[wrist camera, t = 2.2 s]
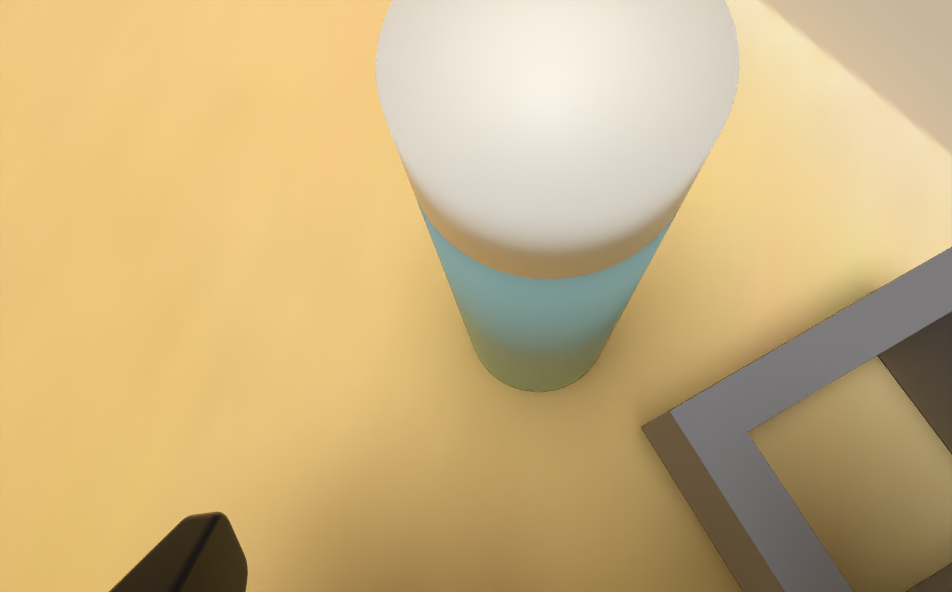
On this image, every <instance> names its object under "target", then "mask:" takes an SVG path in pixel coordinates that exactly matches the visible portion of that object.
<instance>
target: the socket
mask: <svg viewBox="0 0 952 592" xmlns="http://www.w3.org/2000/svg"><path fill="white" fill-rule="evenodd" d="M877 355H878V356H879V357H880V359H881V360H882V361H883V363H884V364H885V365H886V367H887V368H888V369H889V371H890V372H891V373H892V375H893V376H894V377H895V379H896V380H897V381H898V383H899V384H900V385H901V386H902V388H903V389H904V390H905V392H906V393H907V394H908V396H909V397H910V398H911V400H912V401H913V402H914V404H915V405H916V406H917V408H918V409H919V410H920V412H921V413H922V414H923V416H924V417H925V418H926V420H927V421H928V422H929V424H930V425H931V426H932V427H933V429H934V430H935V431H936V433H937V434H938V435H939V437H940V438H941V439H942V441H943V442H944V443H945V445H946V446H947V447H948V449H949V450H950V451H951V453H952V247H951V248H949V249H947V250H945V251H944V252H942V253H940V254H938V255H937V256H935V257H933V258H931V259H930V260H928V261H926V262H924V263H923V264H921V265H919V266H917V267H916V268H914V269H912V270H910V271H909V272H907V273H905V274H903V275H902V276H900V277H898V278H896V279H895V280H893V281H891V282H889V283H888V284H886V285H884V286H882V287H881V288H879V289H877V290H875V291H874V292H872V293H870V294H868V295H867V296H865V297H863V298H862V299H860V300H858V301H856V302H855V303H853V304H851V305H850V306H848V307H846V308H844V309H843V310H841V311H839V312H838V313H836V314H834V315H832V316H831V317H829V318H827V319H826V320H824V321H822V322H820V323H819V324H817V325H815V326H813V327H812V328H810V329H808V330H807V331H805V332H803V333H801V334H800V335H798V336H796V337H795V338H793V339H791V340H789V341H788V342H786V343H784V344H783V345H781V346H779V347H777V348H776V349H774V350H772V351H771V352H769V353H767V354H765V355H764V356H762V357H760V358H759V359H757V360H755V361H753V362H752V363H750V364H748V365H747V366H745V367H743V368H741V369H740V370H738V371H736V372H734V373H733V374H731V375H729V376H728V377H726V378H724V379H722V380H721V381H719V382H717V383H716V384H714V385H712V386H710V387H709V388H707V389H705V390H704V391H702V392H700V393H698V394H697V395H695V396H693V397H692V398H690V399H688V400H686V401H685V402H683V403H681V404H680V405H678V406H676V407H674V408H673V409H671V410H669V411H668V412H666V413H664V414H662V415H661V416H659V417H657V418H655V419H654V420H652V421H650V422H649V423H647V424H645V425H643V426H642V427H641V428H642V430H643V431H644V433H645V434H646V436H647V438H648V439H649V441H650V442H651V444H652V446H653V447H654V449H655V450H656V452H657V454H658V455H659V457H660V458H661V460H662V462H663V463H664V465H665V466H666V468H667V470H668V471H669V473H670V475H671V476H672V478H673V479H674V481H675V483H676V484H677V486H678V487H679V489H680V491H681V492H682V494H683V495H684V497H685V499H686V500H687V502H688V503H689V505H690V507H691V508H692V510H693V511H694V513H695V515H696V516H697V518H698V520H699V521H700V523H701V524H702V526H703V528H704V529H705V531H706V532H707V534H708V536H709V537H710V539H711V540H712V542H713V544H714V545H715V547H716V548H717V550H718V552H719V553H720V555H721V556H722V558H723V560H724V561H725V563H726V565H727V566H728V568H729V569H730V571H731V573H732V574H733V576H734V577H735V579H736V581H737V582H738V584H739V585H740V587H741V589H742V590H743V592H854V591H853V590H852V588H851V587H850V585H849V584H848V582H847V581H846V579H845V578H844V576H843V575H842V573H841V572H840V570H839V569H838V567H837V566H836V564H835V563H834V561H833V560H832V558H831V557H830V555H829V554H828V552H827V551H826V549H825V548H824V546H823V545H822V544H821V542H820V541H819V539H818V538H817V536H816V535H815V533H814V532H813V530H812V529H811V527H810V526H809V524H808V523H807V521H806V520H805V518H804V517H803V515H802V514H801V512H800V511H799V509H798V508H797V506H796V505H795V503H794V502H793V500H792V499H791V497H790V496H789V494H788V493H787V491H786V490H785V488H784V487H783V485H782V484H781V482H780V481H779V479H778V478H777V476H776V475H775V473H774V472H773V470H772V469H771V467H770V466H769V464H768V463H767V461H766V460H765V458H764V457H763V455H762V454H761V452H760V451H759V449H758V448H757V446H756V445H755V443H754V442H753V440H752V439H751V437H750V436H749V434H748V433H747V432H748V431H750V430H751V429H753V428H755V427H756V426H758V425H760V424H762V423H763V422H765V421H767V420H768V419H770V418H772V417H773V416H775V415H777V414H778V413H780V412H782V411H784V410H785V409H787V408H789V407H790V406H792V405H794V404H795V403H797V402H799V401H800V400H802V399H804V398H806V397H807V396H809V395H811V394H812V393H814V392H816V391H817V390H819V389H821V388H822V387H824V386H826V385H828V384H829V383H831V382H833V381H834V380H836V379H838V378H839V377H841V376H843V375H844V374H846V373H848V372H850V371H851V370H853V369H855V368H856V367H858V366H860V365H861V364H863V363H865V362H866V361H868V360H870V359H872V358H873V357H875V356H877ZM907 592H952V564H950V565H949V566H947V567H946V568H944V569H942V570H941V571H939V572H938V573H936V574H934V575H933V576H931V577H929V578H928V579H926V580H925V581H923V582H921V583H920V584H918V585H917V586H915V587H913V588H912V589H910V590H909V591H907Z"/></svg>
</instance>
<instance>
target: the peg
mask: <svg viewBox="0 0 952 592" xmlns="http://www.w3.org/2000/svg"><path fill="white" fill-rule="evenodd" d="M738 76H739V46H738V40H737V35H736V29H735V25H734V23H733V20H732V17H731V14H730V11H729V8H728V6H727V4H726V2H725V0H393V2H392V4H391V6H390V8H389V11H388V13H387V15H386V17H385V20H384V23H383V26H382V30H381V33H380V37H379V41H378V48H377V55H376V82H377V88H378V94H379V100H380V103H381V106H382V109H383V112H384V116H385V119H386V121H387V124H388V127H389V129H390V132H391V134H392V137H393V140H394V142H395V145H396V147H397V150H398V152H399V155H400V158H401V160H402V163H403V165H404V168H405V171H406V173H407V176H408V178H409V181H410V184H411V186H412V189H413V191H414V194H415V196H416V199H417V202H418V204H419V207H420V209H421V212H422V215H423V217H424V220H425V222H426V225H427V228H428V230H429V233H430V235H431V238H432V240H433V243H434V246H435V248H436V251H437V253H438V256H439V259H440V261H441V264H442V266H443V269H444V272H445V274H446V277H447V279H448V282H449V284H450V287H451V290H452V292H453V295H454V297H455V300H456V303H457V305H458V308H459V310H460V313H461V316H462V318H463V321H464V323H465V326H466V328H467V331H468V334H469V336H470V339H471V341H472V344H473V347H474V349H475V351H476V353H477V355H478V357H479V359H480V361H481V362H482V364H483V365H484V366H485V367H486V368H487V370H488V371H489V372H490V373H491V374H493V375H494V376H495V377H496V378H497V379H499V380H500V381H502V382H503V383H505V384H507V385H509V386H511V387H514V388H517V389H520V390H525V391H532V392H545V391H552V390H556V389H559V388H562V387H565V386H567V385H569V384H571V383H573V382H575V381H576V380H578V379H579V378H581V377H582V376H583V375H584V374H585V373H586V372H587V371H588V370H589V369H590V368H591V367H592V366H593V364H594V363H595V361H596V360H597V358H598V356H599V355H600V353H601V351H602V349H603V347H604V345H605V343H606V342H607V340H608V338H609V336H610V334H611V332H612V331H613V329H614V327H615V325H616V323H617V321H618V320H619V318H620V316H621V314H622V312H623V310H624V309H625V307H626V305H627V303H628V301H629V299H630V298H631V296H632V294H633V292H634V290H635V288H636V287H637V285H638V283H639V281H640V279H641V277H642V276H643V274H644V272H645V270H646V268H647V266H648V265H649V263H650V261H651V259H652V257H653V255H654V254H655V252H656V250H657V248H658V246H659V244H660V243H661V241H662V239H663V237H664V235H665V233H666V232H667V230H668V228H669V226H670V224H671V222H672V221H673V219H674V217H675V215H676V213H677V211H678V210H679V208H680V206H681V204H682V202H683V200H684V199H685V197H686V195H687V193H688V191H689V189H690V187H691V186H692V184H693V182H694V180H695V178H696V176H697V175H698V173H699V171H700V169H701V167H702V165H703V164H704V162H705V160H706V158H707V156H708V154H709V153H710V151H711V149H712V147H713V145H714V143H715V142H716V140H717V138H718V136H719V134H720V132H721V130H722V128H723V126H724V124H725V122H726V120H727V118H728V116H729V113H730V111H731V108H732V104H733V101H734V98H735V94H736V91H737V84H738Z"/></svg>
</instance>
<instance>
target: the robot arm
mask: <svg viewBox="0 0 952 592" xmlns="http://www.w3.org/2000/svg"><path fill="white" fill-rule="evenodd" d="M247 576H248V569H247V562H246V558H245V555H244V553H243V551H242V548H241V546H240V544H239V542H238V539H237V537H236V535H235V533H234V530H233V528H232V526H231V524H230V522H229V520H228V518H227V516H226V515H224V514H223V513H221V512H211V513H203V514H196V515H191V516H188V517H186V518H185V519H183V520H182V521H181V522H180V523H179V524H178V525H177V526H176V527H175V528H174V529H173V530H172V531H171V532H170V533H169V534H168V535H167V536H166V537H164V538H163V539H162V540H161V541H160V542H159V543H158V544H157V545H156V546H155V547H154V548H153V549H152V550H151V551H150V552H149V553H148V554H147V555H146V556H145V557H144V558H143V559H142V560H141V561H140V562H139V563H138V564H137V565H136V566H135V567H134V568H133V569H132V570H131V571H130V572H129V573H128V574H127V575H126V576H125V577H124V578H123V579H122V580H121V581H120V582H119V583H118V584H116V585H115V586H114V587H113V588H112V589H111V590H110V591H109V592H246V585H247Z"/></svg>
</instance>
